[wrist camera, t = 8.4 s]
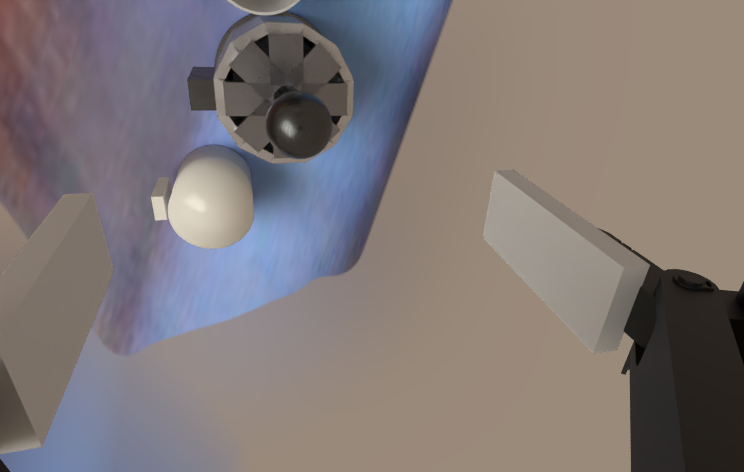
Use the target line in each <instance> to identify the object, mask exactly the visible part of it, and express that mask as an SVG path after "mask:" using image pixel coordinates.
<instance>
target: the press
mask: <svg viewBox="0 0 744 472" xmlns="http://www.w3.org/2000/svg"><path fill="white" fill-rule="evenodd" d="M267 34H268V49H269V56H268V55H267V54H266V53H265V52H264V51H263V50H262V49H261V48H260V47H259V46H258V45H257V44H256V43H255V41H256V40H258V39H260V38H262V37H263V36H265V35H267ZM303 41H304V42H305V43H306V44H307V45H308V46H309V47H310V48H311V49H310V50H309V51H308V52H307V53H306V54H305V55H304V56H303ZM241 49H242V50H241ZM240 50H241V51H240ZM239 51H240V52H239ZM238 52H239V53H238ZM233 70H234V71H235V72H236V73H237V74H238V75H239V76H240V77H241V78H242V79H243V80H244V81H233ZM187 81H188V89H189V97H190V105H191V110H217V116H218V118H219V120H220V121H221V123H222V124H223V125H224V127H225V128H226V130H227V131H228V132H229V134H230V135H231V137H232V138H233V140H234V141H235V142H236V144H237V145H238V147H239V146H240V148H241V149H243V150H245V151H247V152H249V153H251V154H253V155H255V156H258V157H260V158H262V159H264V160H266V161H268V162H270V163H271V162H272V163H300V162H305V161H306V162H307V161H309V160H311V159H312V158H314V157H316V156H318V155H319V154H321V153H323V152H324V151H326V150H328V149H329V148H331V147H333V146H335V145H336V143H337V141H338V140H339V138H340V136H341V134H342V133H343V131H344V129H345V128H346V126H347V124H348V123H349V121H350V119H351V118H352V115H353V94H354V80H353V77H352V75H351V73H350V71H349V69H348V67H347V65H346V63H345V61H344V59H343V57H342V55H341V53H340V51H339V49H338V47H337V46H336V45H335V44H334V43H332V42H331V41H329V40H328V39H326V38H325V37H323V36H322V35H321V33H320V32H319V31H318V30H317V29H316V28H315V27H314V26H313V25H311V24H310V23H309V22H307V21H306V20H304V19H302V18H301V17H299V16H297V15H294V14H292V13H289V12H285V11H284V12H282V13H278V14H274V15H256V14H252V13H251V14H249V15H247V16H245V17H243V18H241V19H240V20H238V21H237V22H236V23H234V24H233V25H232V26H231V27H230V28H229V30H228V31H227V32H226V33H225V35H224V37H223V38H222V40H221V42H220V45H219V47H218V50H217V54H216V58H215V67H193V69H192V71H191V73H190V75H189V77H188V79H187ZM281 86H294V87H295V88H296V89H297V90H298V91H304V92H308V93H311V94H313V95H315V96H316V97H318V98H319V99H320V100H321V101H322V102H323V103H324V104H325V105H326V107H327V108H328V110H329V112H330V115H331V118H332V134H331V138H330V140H329V142H328V144H327V145H326V147H325V148H324V149H323V150H322V151H321V152H320V153H318V154H317V155H315V156H313V157H310V158H306V159H294V158H290V157H287V156H285V155H283V154H281V153H280V152H279V151H277V150H276V149H275V148H274V147H273V145H272V144H271V142H270V141H269V139H268V136H267V133H266V128H265V119H266V114H267V111H268V109H269V107H270V106H271V104H272V103H273V102H274V93H275V92H276V91H277V90H278V89H279V88H280V87H281ZM334 144H335V145H334Z"/></svg>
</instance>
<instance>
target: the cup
mask: <svg viewBox="0 0 744 472" xmlns="http://www.w3.org/2000/svg"><path fill="white" fill-rule="evenodd" d="M228 1H229V2H230V3H231V4H233V5H234V6H236V7H237V8H239V9H241V10H243V11H246V12H248V13H252V14H256V15H274V14H278V13H282V12H284V11H286V10H288V9H290V8H291V7H293V6H294V5H295V4H297V3H298V2H299V1H300V0H228Z"/></svg>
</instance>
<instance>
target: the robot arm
mask: <svg viewBox="0 0 744 472" xmlns="http://www.w3.org/2000/svg"><path fill="white" fill-rule="evenodd" d="M483 238H484V239H485V240H486V241H487V242H488V243H489V244H490V245H491V246H492V248H493V249H494V250H496V252H497V253H498V254H499V255H500V256H501V257H502V258H503V259H504V260H505V261H506V262H507V263H508V264H509V265H510V266H511V267H512V269H513V270H514V271H515V272H516V273H517V274H518V275H519V276H520V277H521V278H522V279H523V280H524V281H525V282H526V283H527V284H528V286H529V287H531V289H532V290H533V291H534V292H535V293H536V294H537V295H538V296H539V297H540V298H541V299H542V300H543V301H544V302H545V303H546V305H547V306H548V307H549V308H550V309H551V310H552V311H553V312H554V313H555V314H556V315H557V316H558V317H559V318H560V319H561V320H562V321H563V322H564V323H565V324H566V326H567V327H568V328H569V329H570V330H571V331H572V332H573V333H574V334H575V335H576V336H577V337H578V338H579V339H580V340H581V341H582V343H583V344H584V345H585V346H586V347H587V348H588V349H589V350H590V351H591V352H592V353H593V354H596V353H602V352H607V351H613V350H617V349H618V346H619V344H620V341H621V338H622V336H623V333H624V332H625V333H626V334H628V336H630V337H631V338H632V339H633V340H634V342H633V345H632V347H631V350H630V352H629V355H628V357H627V360H626V362H625V365H624V367H623V369H622V372H621V373H622V374H626V372H627V370H629V369H630V423H631V472H744V282H743V284H742V286H741V289H740V290H739V292H738V291H727V290H726V291H725V290H719V289H718V287H717V286H716V285H715V284H714V283H713V282H711V281H710V280H708V279H707V278H705V277H703V276H701V275H699V274H696V273H692V272H689V271H685V270H678V269H671V270H670V269H668V270H666V271H664V270H662V269H660V268H659V267H658V266H656V265H655V264H653V263H652V262H651V261H649V260H648V259H646V258H645V257H643V256H642V255H640V254H639V253H638V252H636V251H635V250H631V248H630V247H629V246H627V245H626V244H624V243H621V241H620V240H619V239H617V238H616V237H614V236H613V235H611V234H610V233H608V232H606V231H603V230H601V229H599V228H597V227H595V226H594V225H592V224H591V223H589V222H587V221H586V220H585V219H583V218H582V217H581V216H579V215H578V214H576V213H575V212H574V211H572V210H571V209H569V208H567V207H566V206H565V205H563V204H562V203H561V202H559V201H558V200H556V199H555V198H553V197H552V196H551V195H549V194H548V193H546V192H545V191H543V190H542V189H541V188H539V187H538V186H536V185H535V184H533V183H532V182H530V181H529V180H528V179H526V178H525V177H523V176H522V175H520V174H519V173H518V172H516V171H515V170H499V171H495V172H494V178H493V183H492V188H491V194H490V200H489V206H488V211H487V216H486V222H485V227H484V233H483ZM113 272H114V270H113V266H112V262H111V259H110V255H109V251H108V247H107V244H106V240H105V236H104V232H103V229H102V225H101V221H100V217H99V214H98V210H97V206H96V202H95V199H94V195H93V193H81V194H64V195H63V196H62V197H61V199H60V200H59V201H58V203H57V204H56V205H55V206H54V208H53V209H52V210H51V212H50V213H49V214H48V215H47V217H46V218H45V219H44V220H43V222H42V223H41V224H40V226H39V227H38V228H37V229H36V231H35V232H34V233H33V235H32V236H31V237H30V238H29V240H28V241H27V242H26V244H25V245H24V246H23V247H22V249H21V250H20V251H19V253H18V254H17V255H16V256H15V258H14V259H13V260H12V261H11V263H10V264H9V265H8V267H7V268H6V269H5V270H4V272H3V273H2V274H1V276H0V454H3V453H9V452H14V451H21V450H26V449H32V448H39V447H42V446H43V443H44V441H45V438H46V436H47V433H48V431H49V429H50V426H51V424H52V421H53V419H54V416H55V414H56V411H57V409H58V406H59V404H60V401H61V399H62V397H63V394H64V392H65V389H66V387H67V385H68V382H69V380H70V377H71V375H72V372H73V370H74V367H75V365H76V363H77V360H78V358H79V355H80V353H81V350H82V348H83V345H84V343H85V341H86V338H87V336H88V333H89V331H90V328H91V326H92V323H93V321H94V319H95V316H96V314H97V311H98V309H99V306H100V304H101V301H102V299H103V297H104V294H105V292H106V289H107V287H108V284H109V282H110V279H111V277H112V275H113ZM0 472H10V471H9V470H8V468H7V467H6V466H5V465H4V463H3V462H2V461H1V459H0Z"/></svg>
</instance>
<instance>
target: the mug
mask: <svg viewBox="0 0 744 472" xmlns="http://www.w3.org/2000/svg"><path fill="white" fill-rule="evenodd" d="M151 199H152V204H153V210H154V215H155V220H167V217H169V221H170V223H171V225H172V227H173V229H174V230H175V231H176V233H177V234H178V235H179V236H180V237H181V238H183V239H184V240H185V241H187V242H189V243H190V244H193V245H195V246H198V247H202V248H209V249H217V248H223V247H227V246H230V245H232V244H234V243H236V242H238V241H239V240H241V239H242V238H243V237H244V236H245V235H246V234H247V232H248V231H249V229H250V227H251V225H252V223H253V218H254V205H253V191H252V177H251V172H250V168H249V166H248V164H247V163H246V161H245V160H244V159H243V157H242V156H241V155H240V154H238V153H237V152H236V151H234V150H232V149H230V148H228V147H225V146H221V145H206V146H201V147H199V148H196V149H194V150H193V151H191V152H190V153H189V154H188V155H187V156H186V157H185V158H184V159H183V161H182V163H181V165H180V168H179V171H178V174H177V177H176V181H175V184H174V187H173V190H171V184H170V177H163V178H159V179H158V181H157V184H156V186H155V189H154V191H153V194H152V196H151Z"/></svg>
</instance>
